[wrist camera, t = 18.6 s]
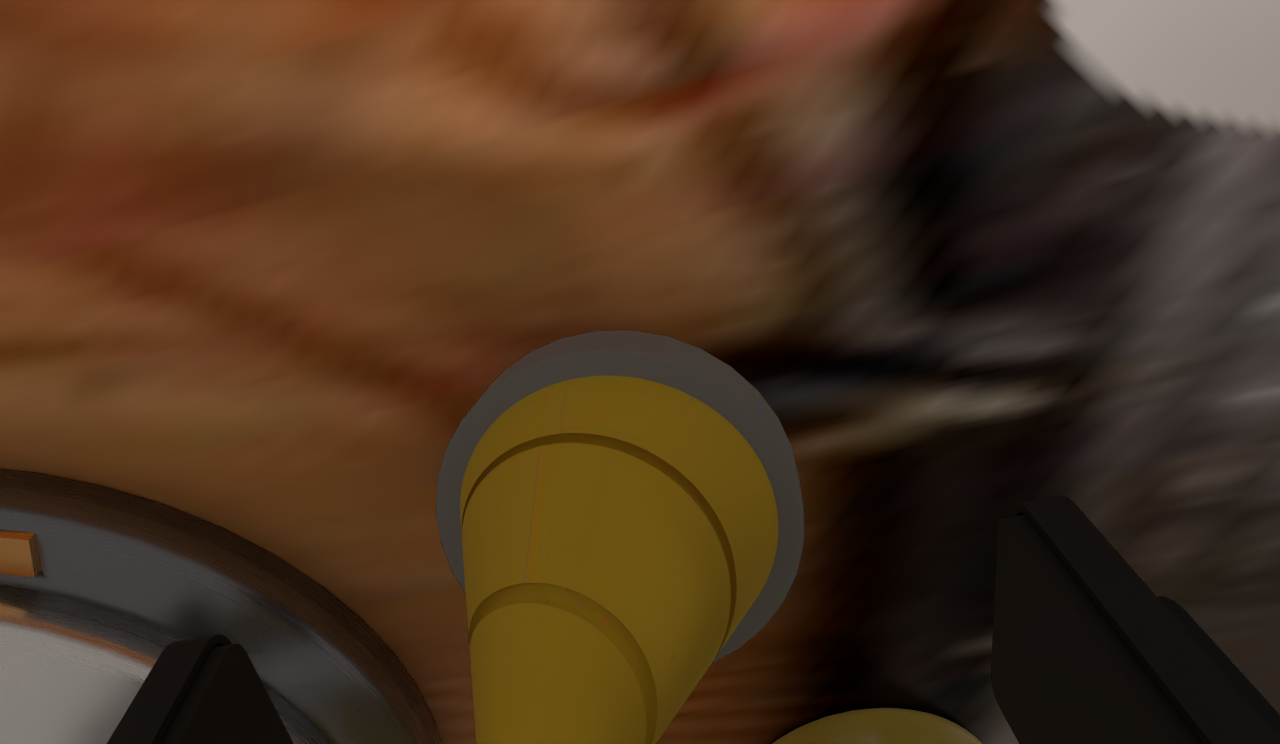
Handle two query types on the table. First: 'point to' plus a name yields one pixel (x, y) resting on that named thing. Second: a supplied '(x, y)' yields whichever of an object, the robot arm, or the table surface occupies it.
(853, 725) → the plant pot
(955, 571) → the table surface
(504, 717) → the stepped yellow cone
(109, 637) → the steel lathe chuck
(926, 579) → the table surface
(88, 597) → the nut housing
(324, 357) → the table surface
